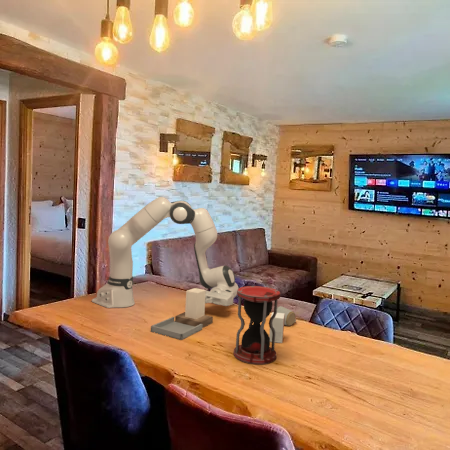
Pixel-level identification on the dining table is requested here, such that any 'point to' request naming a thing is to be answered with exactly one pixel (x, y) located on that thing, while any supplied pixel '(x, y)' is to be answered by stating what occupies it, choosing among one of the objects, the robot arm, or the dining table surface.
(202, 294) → the cream block
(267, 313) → the hourglass
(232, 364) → the dining table surface
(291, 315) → the ceramic mug
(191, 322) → the brown flat block
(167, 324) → the gray tray
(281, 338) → the small box
